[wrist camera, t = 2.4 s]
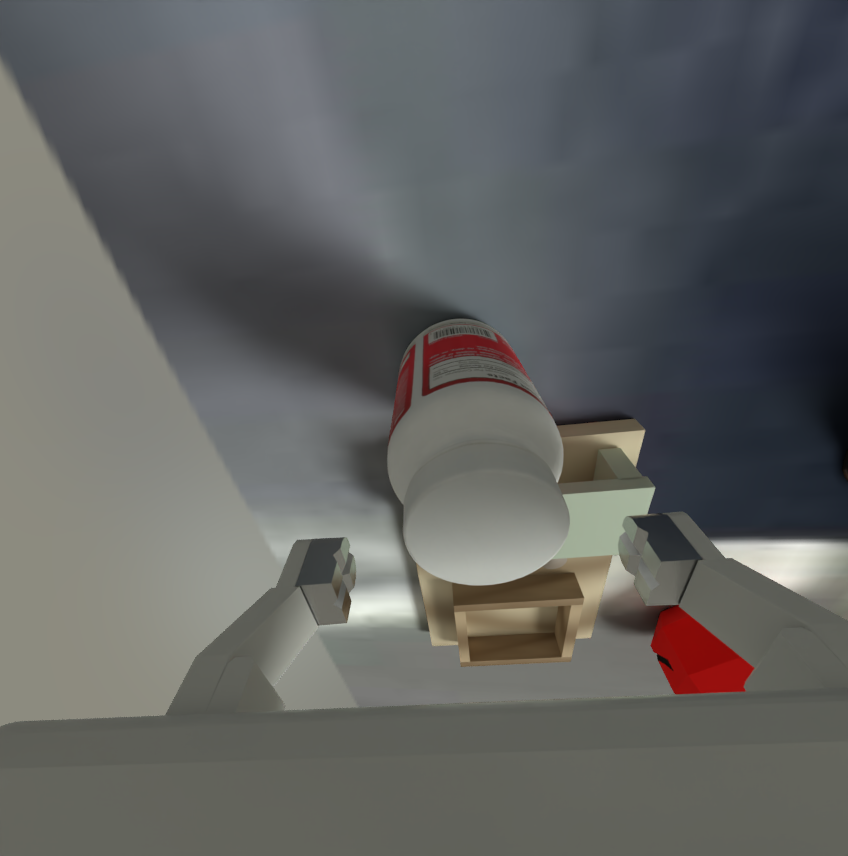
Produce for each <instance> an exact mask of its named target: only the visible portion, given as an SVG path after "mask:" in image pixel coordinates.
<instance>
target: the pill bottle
mask: <svg viewBox="0 0 848 856" xmlns="http://www.w3.org/2000/svg"><path fill="white" fill-rule="evenodd" d="M562 467H563V444H562V439H561V436H560V433H559V431H558V428H557V426H556V424H555V422H554V419H553V417H552V415H551V414H550V412H549V411H548V409H547V407H546V406H545V404H544V402H543V401H542V399H541V397H540V395H539V394H538V392H537V390H536V388H535V387H534V385H533V383H532V382H531V380H530V378H529V377H528V375H527V373H526V372H525V370H524V368H523V366H522V365H521V363H520V361H519V359H518V358H517V356H516V354H515V353H514V351H513V349H512V348H511V347H510V345H509V344H508V342H507V341H506V339H505V338H504V337H503V336H502V335H501V334H500V333H499V332H498V331H496V330H495V329H494V328H492V327H490V326H489V325H487V324H484V323H482V322H479V321H476V320H471V319H451V320H446V321H442V322H439V323H437V324H434V325H432V326H430V327H429V328H427V329H426V330H424V331H423V332H421V333H420V334H419V335H418V336H417V337H416V338H415V339H414V340H413V341H412V342H411V344H410V345H409V346H408V348H407V350H406V351H405V354H404V356H403V358H402V361H401V365H400V369H399V375H398V382H397V389H396V397H395V403H394V410H393V417H392V423H391V430H390V435H389V443H388V456H387V468H388V475H389V479H390V482H391V485H392V487H393V490H394V492H395V494H396V495H397V497H398V499H399V500H400V501H401V503H402V504H403V505H404V515H403V537H404V542H405V545H406V548H407V550H408V552H409V554H410V555H411V557H412V558H413V560H414V561H415V562H416V563H417V564H418V565H419V566H420V567H421V568H423V569H424V570H425V571H427V572H428V573H430V574H432V575H434V576H436V577H438V578H441V579H443V580H446V581H449V582H453V583H458V584H465V585H493V584H500V583H505V582H509V581H513V580H515V579H518V578H522V577H524V576H526V575H528V574H530V573H532V572H534V571H536V570H537V569H539V568H541V567H542V566H544V565H545V564H546V563H547V562H549V561H550V560H551V559H552V558H553V557H554V556H555V555H556V554H557V553H558V551H559V550H560V549H561V547H562V546H563V544H564V542H565V540H566V538H567V535H568V532H569V526H570V515H569V510H568V507H567V504H566V502H565V500H564V497H563V495H562V493H561V490H560V488H559V486H558V484H557V483H558V480H559V478H560V475H561V472H562Z"/></svg>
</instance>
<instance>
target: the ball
mask: <svg viewBox="0 0 848 856" xmlns="http://www.w3.org/2000/svg"><path fill="white" fill-rule="evenodd" d="M651 647H652V649H653V651H654V652H655V653H657V658H658V661H659V663H660V665H661V667H662V669H663V671H664V673H665V676H666V678H667V680H668V682H669V684H670V686H671V688H672V690H673V692H674V693H675V694H698V693H722V692H746V690H745V688H744V684H745V681H746V680H747V678H748V677H749V676H750V674H751V673H752V671H753V670H754V667H753V666H752V665H750V664H749V663H748V662H747V661H745V660H744V659H743V658H742V657H740V656H739V655H738V654H737V653H736V652H734V651H733V650H732V649H731V648H729V647H728V646H727V645H726V644H724V643H723V642H722V641H721V640H720V639H718V638H717V637H716V636H715V635H713V634H712V633H711V632H710V631H708V630H707V629H706V628H705V627H704V626H702V625H701V624H700V623H699V622H697V621H696V620H695V619H694V618H692V617H691V616H690V615H689V614H688V613H686V612H685V611H684V610H683V609H681V608H680V607H679V605H676V606H674V607H671V608H669V609H667V610H664V611H662V612H660V615H659V619H658V622H657V626H656V629H655V633H654V636H653V640H652V643H651Z"/></svg>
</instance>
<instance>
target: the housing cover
mask: <svg viewBox="0 0 848 856" xmlns="http://www.w3.org/2000/svg"><path fill="white" fill-rule="evenodd" d="M558 486H559V488H560V490H561V493H562V495H563V497H564V500H565V502H566V504H567V507H568V510H569V515H570V526H569V532H568V535H567V538H566V540H565V542H564V544H563V546H562V547H561V549H560V550H559V551H558V553H557V554H556V555H555V556H554V557H553V558H552V559H561V558H576V557H591V556H606V555H619V550H618V541H619V537H620V536H621V535H622V534H623V533H624V532H625V530H624V528H623V527H622V524H623V520H624V518H625V517H626V516H634V515H646V514H647V512H648V509H649V506H650V503H651V500H652V496H653V493H654V490H655V486H654V485H653V484H652V482H651V481H650V480H649V479H648V477H647V476H646V477H643V476H642V475H641V474H640V473H639V471H638V470H637V469H636V467H635V466H634V465H633V463H632V462H631V461H630V460H629V458H628V457H627V456H626V454H625V453H624V452H623V451H622V449H621V448H611V449H600V450H598V455H597V461H596V466H595V471H594V477H593V481H585V482H572V483H560V484H558Z"/></svg>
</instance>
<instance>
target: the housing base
mask: <svg viewBox="0 0 848 856" xmlns="http://www.w3.org/2000/svg"><path fill="white" fill-rule="evenodd" d="M557 428H558V431H559V433H560V436H561V439H562V444H563V467H562V472H561V475H560V478H559V480H558V483H557V484H560V483H572V482H585V481H593V477H594V471H595V466H596V461H597V455H598V450H600V449H611V448H621V449H622V451H623V452H624V453H625V454H626V456H627V457H628V458H629V460H630V461H631V462H632V463H633V465H634V466H635V467H636V464H637V460H638V456H639V452H640V448H641V445H642V441H643V437H644V433H645V429H644V428H643V427H642V426H641V425H640V424H639V423H638V422H637V421H636V420H635V419H626V420H615V421H604V422H593V423H582V424H571V425H560V426H557ZM611 559H612V555H606V556H591V557H576V558H561V559H551V560H550V561H549V562H547V563H546V564H545V565H544V566H542V567H541V568H539V569H537V570H536V571H534V572H532V573H530V574H528V575H526V576H524V577H522V578H518V579H515V580H513V581H509V582H505V583H500V584H493V585H465V584H458V583H453V582H449V581H446V580H443V579H441V578H438V577H436V576H434V575H432V574H430V573H428V572H427V571H425V570H424V569H423V568H421V567H420V566H419V565H418V564H417V563H416V566H417V571H418V576H419V581H420V586H421V591H422V596H423V601H424V606H425V611H426V616H427V621H428V626H429V631H430V636H431V641H432V646H444V645H458V646H459V654H460V662H461V667H466V666H487V665H508V664H529V663H550V662H571V657H572V653H573V648H574V643H575V639H579V638H591V635H592V631H593V627H594V624H595V620H596V616H597V612H598V608H599V605H600V601H601V597H602V593H603V589H604V585H605V582H606V578H607V574H608V570H609V566H610V563H611Z"/></svg>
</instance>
